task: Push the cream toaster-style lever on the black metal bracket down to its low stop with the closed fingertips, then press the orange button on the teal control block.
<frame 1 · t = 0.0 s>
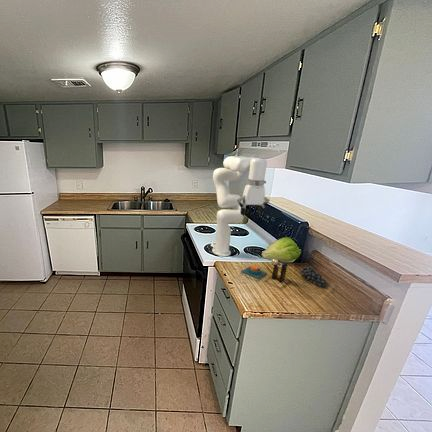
hand: (251, 214, 129), 37 cm above the table, tool pointing down, fingers open, 9 cm apart
control block: (253, 275, 141), on the table
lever: (277, 263, 128), point 13 cm above the table, hinge at 30.0°
fruit: (312, 284, 133), on the table
lettuce: (279, 259, 162), on the table
button: (254, 268, 140), point 4 cm above the table, slide at 0.1 cm
bracket: (277, 281, 135), on the table
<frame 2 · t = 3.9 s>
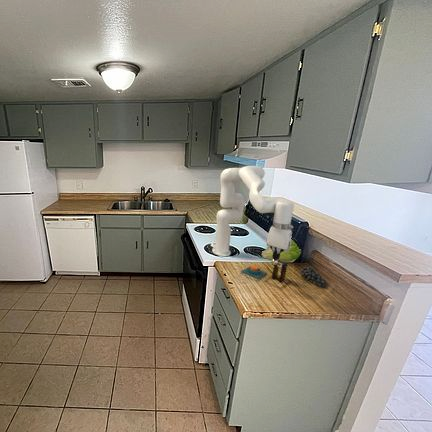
hand: (275, 259, 125), 17 cm above the table, tool pointing down, fingers closed
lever: (277, 263, 128), point 12 cm above the table, hinge at 29.2°, touching gripper
everything else where it was.
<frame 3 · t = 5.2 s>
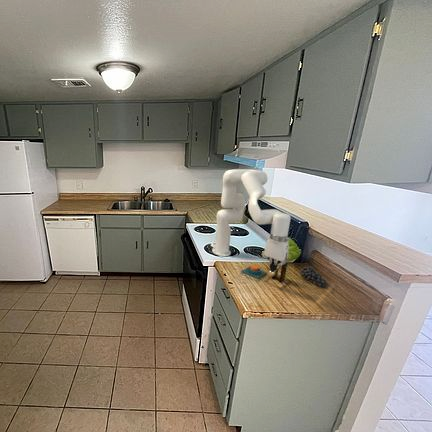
hand: (272, 270, 126), 10 cm above the table, tool pointing down, fingers closed
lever: (276, 269, 129), point 9 cm above the table, hinge at -7.0°, touching gripper
everything else where it was.
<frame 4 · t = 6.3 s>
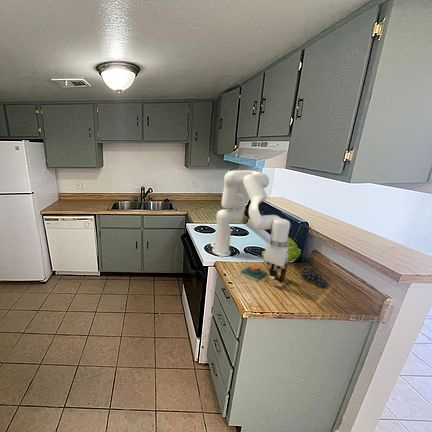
hand: (272, 275, 127), 7 cm above the table, tool pointing down, fingers closed
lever: (276, 271, 130), point 8 cm above the table, hinge at -25.9°, touching gripper
everything else where it was.
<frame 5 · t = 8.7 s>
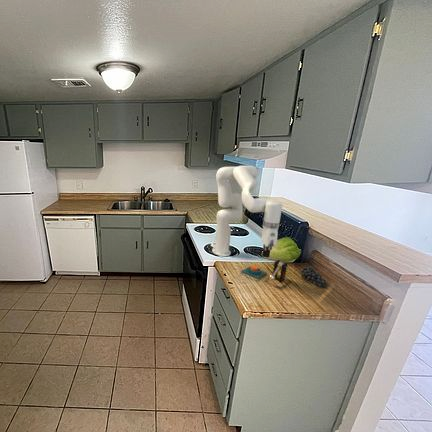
hand: (265, 256, 131), 15 cm above the table, tool pointing down, fingers closed
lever: (276, 271, 130), point 8 cm above the table, hinge at -25.9°
everything else where it was.
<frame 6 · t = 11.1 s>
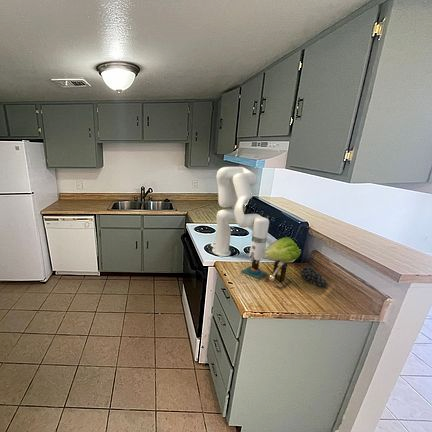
hand: (254, 268, 140), 4 cm above the table, tool pointing down, fingers closed
button: (254, 269, 140), point 3 cm above the table, slide at -0.9 cm, touching gripper
everything else where it was.
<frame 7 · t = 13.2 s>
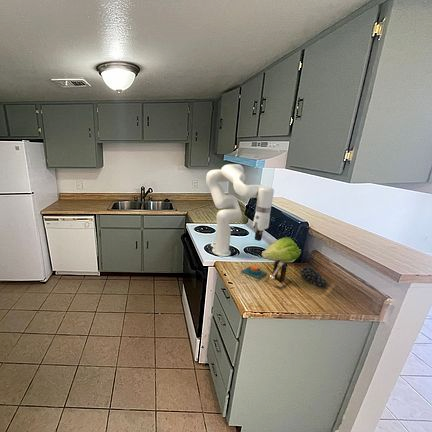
hand: (257, 239, 139), 21 cm above the table, tool pointing down, fingers closed
button: (254, 268, 140), point 4 cm above the table, slide at 0.1 cm
everything else where it was.
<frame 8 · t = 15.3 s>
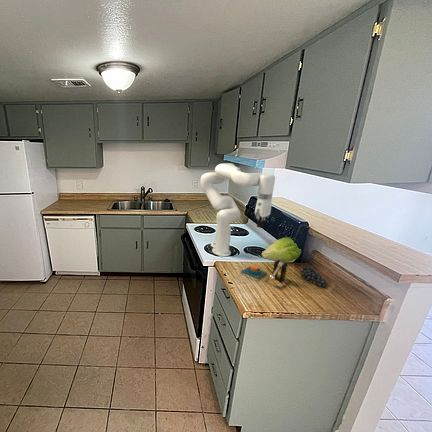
hand: (260, 227, 141), 27 cm above the table, tool pointing down, fingers closed
nothing on the table moved.
at the end: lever at -26° (first picture: +30°); button pushed in 1.1 cm at the most during the clip and back out by the end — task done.
